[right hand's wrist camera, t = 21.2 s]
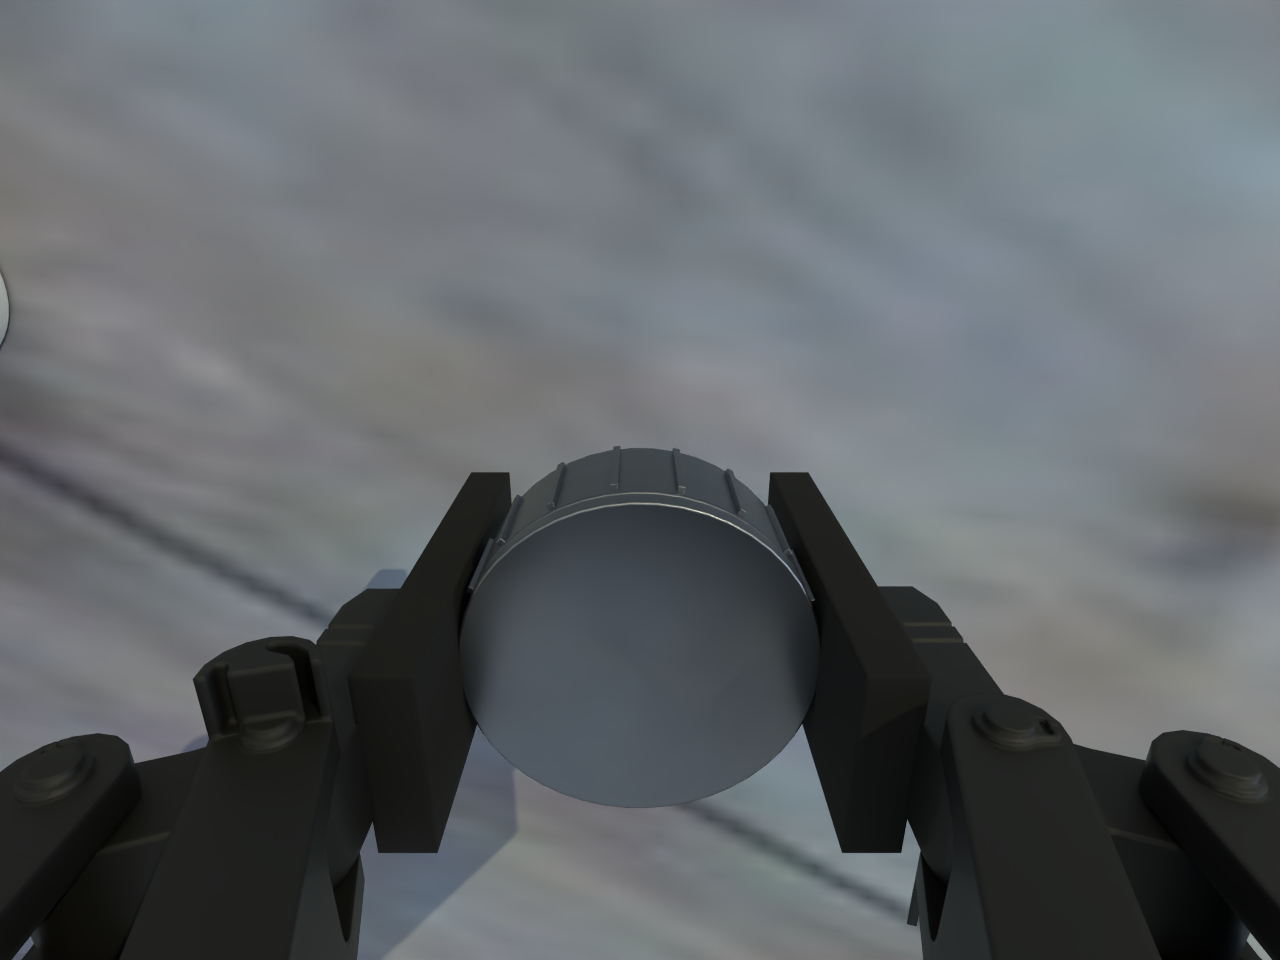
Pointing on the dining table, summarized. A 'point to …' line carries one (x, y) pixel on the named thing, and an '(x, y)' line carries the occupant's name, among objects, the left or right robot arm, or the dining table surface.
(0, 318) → the off-white long cylinder
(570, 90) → the dining table surface
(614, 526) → the lid
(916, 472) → the dining table surface
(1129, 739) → the dining table surface
